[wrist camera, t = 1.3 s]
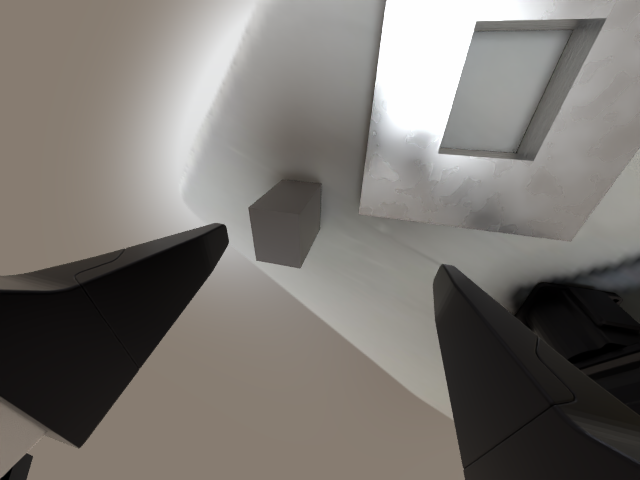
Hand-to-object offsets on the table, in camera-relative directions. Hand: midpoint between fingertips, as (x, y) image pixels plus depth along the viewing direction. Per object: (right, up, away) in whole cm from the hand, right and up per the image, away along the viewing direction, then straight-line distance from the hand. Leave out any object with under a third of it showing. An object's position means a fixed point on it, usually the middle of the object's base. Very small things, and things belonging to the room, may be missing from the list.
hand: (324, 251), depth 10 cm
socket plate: (+12, +10, +7) cm, 17 cm away
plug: (-2, +4, +15) cm, 15 cm away
